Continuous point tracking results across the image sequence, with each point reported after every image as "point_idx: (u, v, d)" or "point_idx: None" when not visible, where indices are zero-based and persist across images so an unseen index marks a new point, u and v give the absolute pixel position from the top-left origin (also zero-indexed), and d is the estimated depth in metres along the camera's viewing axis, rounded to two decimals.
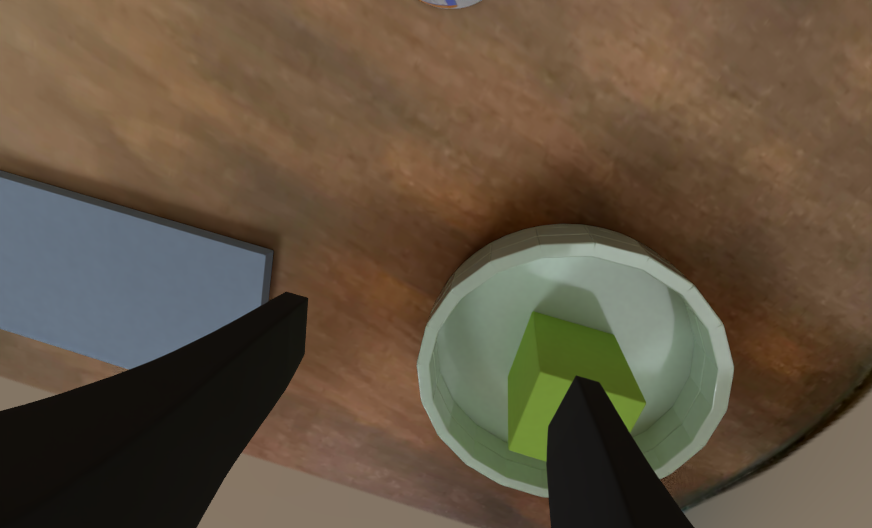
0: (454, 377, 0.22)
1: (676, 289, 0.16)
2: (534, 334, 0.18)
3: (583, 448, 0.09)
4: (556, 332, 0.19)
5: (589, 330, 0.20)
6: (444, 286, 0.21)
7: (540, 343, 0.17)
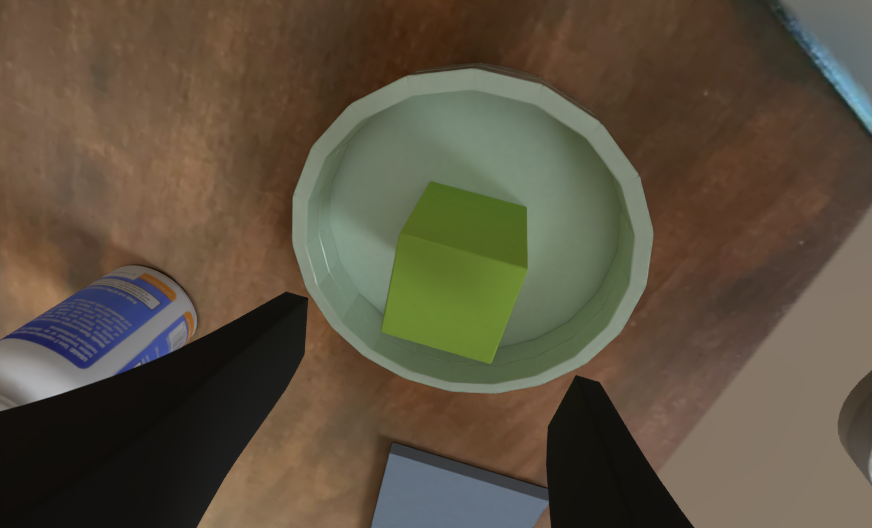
0: (503, 336, 0.20)
1: (319, 164, 0.15)
2: None
3: (583, 448, 0.09)
4: None
5: None
6: None
7: None
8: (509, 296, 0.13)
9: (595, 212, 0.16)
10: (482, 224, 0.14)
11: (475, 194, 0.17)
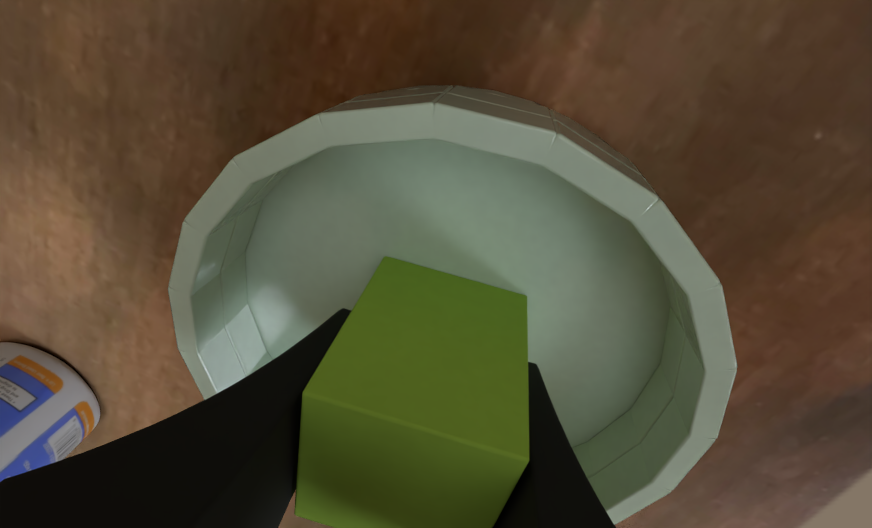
0: None
1: (199, 246, 0.09)
2: None
3: None
4: None
5: None
6: None
7: None
8: (497, 493, 0.08)
9: (631, 307, 0.11)
10: (455, 348, 0.09)
11: (450, 277, 0.11)
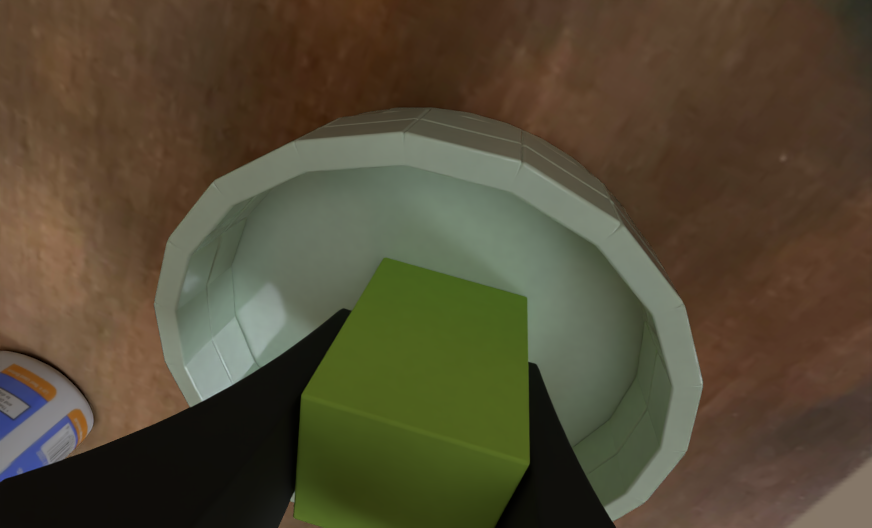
0: None
1: (183, 264, 0.10)
2: None
3: None
4: None
5: None
6: None
7: None
8: (497, 497, 0.07)
9: (607, 321, 0.11)
10: (455, 350, 0.09)
11: (450, 279, 0.11)
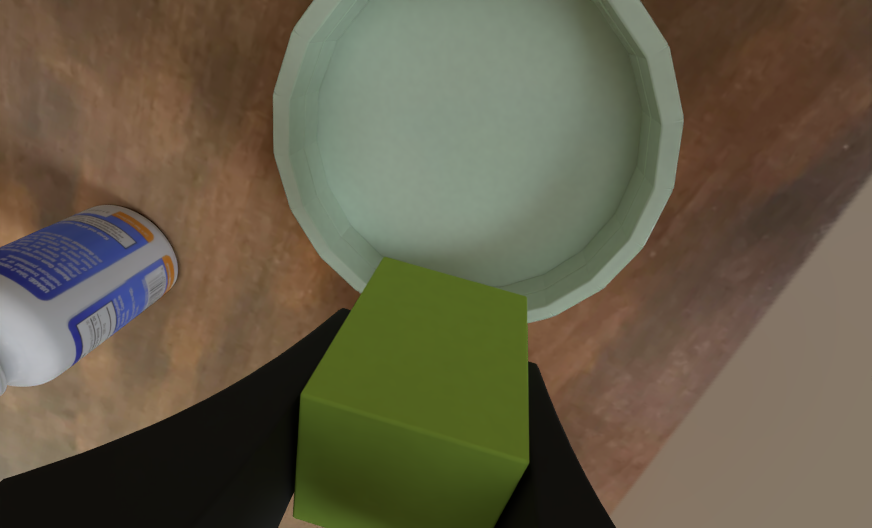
0: (509, 271, 0.18)
1: (302, 51, 0.13)
2: None
3: None
4: None
5: None
6: None
7: None
8: (496, 496, 0.07)
9: (613, 115, 0.15)
10: (455, 349, 0.09)
11: (450, 278, 0.11)
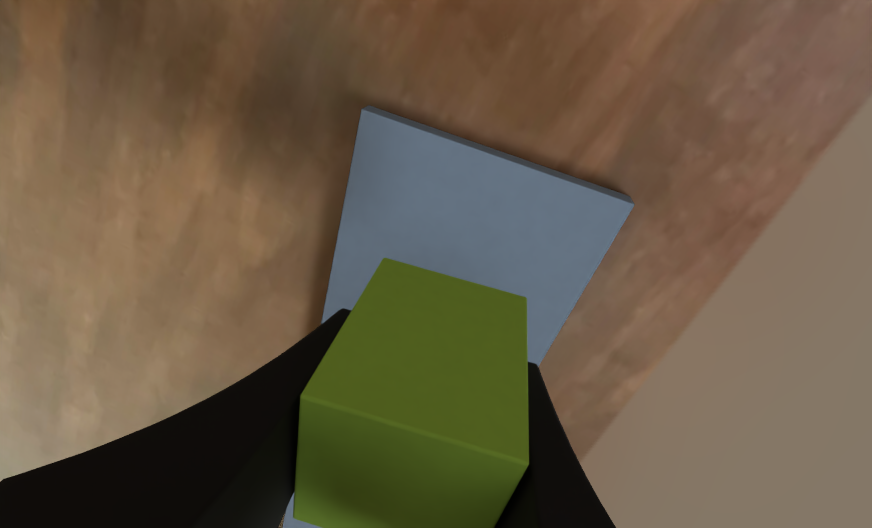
0: None
1: None
2: None
3: None
4: None
5: None
6: None
7: None
8: (496, 497, 0.07)
9: None
10: (455, 350, 0.09)
11: (449, 279, 0.11)
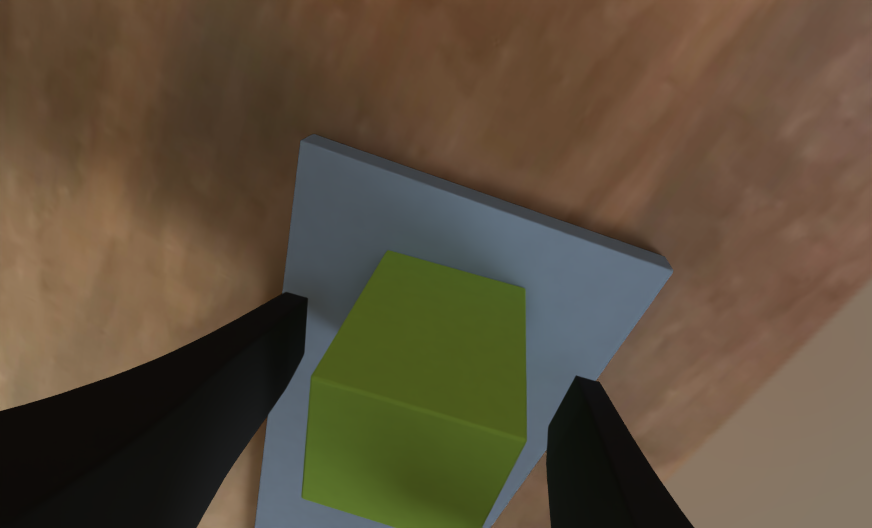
0: None
1: None
2: None
3: (584, 448, 0.09)
4: None
5: None
6: None
7: None
8: (496, 474, 0.08)
9: None
10: (456, 337, 0.09)
11: (451, 270, 0.11)
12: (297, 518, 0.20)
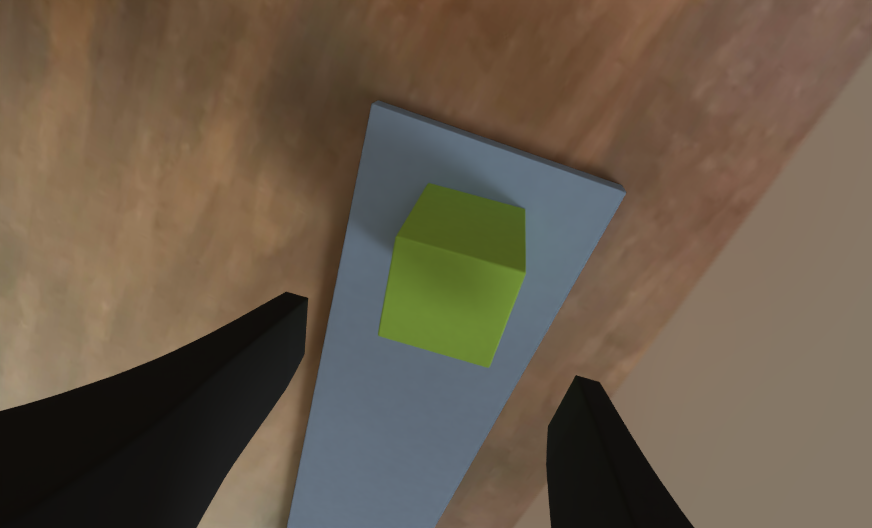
0: None
1: None
2: None
3: (583, 448, 0.09)
4: None
5: None
6: None
7: None
8: (507, 300, 0.13)
9: None
10: (480, 227, 0.14)
11: (473, 196, 0.16)
12: (343, 419, 0.25)
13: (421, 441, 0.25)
